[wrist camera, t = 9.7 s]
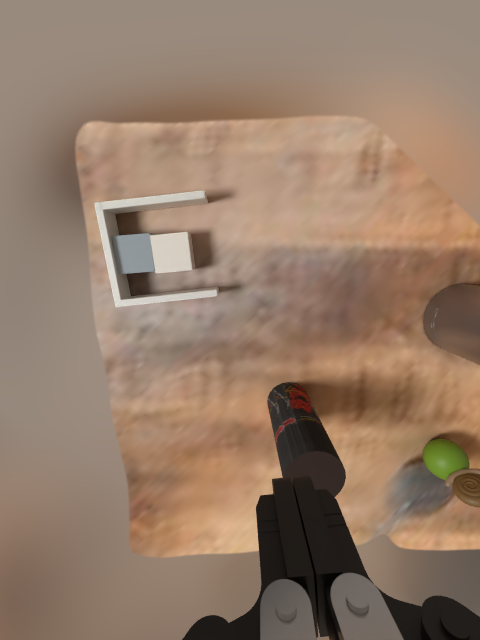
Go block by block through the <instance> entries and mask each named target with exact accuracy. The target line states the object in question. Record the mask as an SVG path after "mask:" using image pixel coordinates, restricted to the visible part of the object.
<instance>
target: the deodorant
mask: <svg viewBox="0 0 480 640" xmlns="http://www.w3.org/2000/svg"><path fill="white" fill-rule="evenodd" d="M268 408H269V413H270V418H271V423H272V428H273V432H274V437H275V442H276V447H277V452H278V457H279V461H280V466H281V471H282V476H283V478H287V477H290V478H291V477H296V476H306V475H310V477H311V479H312V482H313V485H314V488H315V490H320V489H327V490H328V491H329V492H330V493H331V494H332V496H333V497H335V496H336V495H337V494H338V493H339V492H340V491H341V489H342V488H343V486H344V483H345V479H346V475H345V469H344V467H343V464H342V462H341V460H340V458H339V456H338V454H337V452H336V450H335V449H334V447H333V445H332V443H331V441H330V439H329V437H328V435H327V433H326V431H325V429H324V427H323V425H322V423H321V421H320V419H319V417H318V415H317V413H316V411H315V409H314V407H313V405H312V403H311V401H310V399H309V397H308V395H307V393H306V391H305V390H304V389H303V388H302V387H301V386H299V385H298V384H295V383H282V384H280V385H277V386H276V387H275V388H273V390H272V391H271V392H270V394H269V396H268Z"/></svg>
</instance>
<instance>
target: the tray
mask: <svg viewBox="0 0 480 640" xmlns="http://www.w3.org/2000/svg"><path fill="white" fill-rule="evenodd" d="M207 203H208V199H207V195H206V193H205V191H204V190H203V191H194V192H185V193H177V194H168V195H159V196H151V197H142V198H133V199H124V200H116V201H107V202H98V203H94V205H95V210H96V214H97V219H98V224H99V229H100V234H101V239H102V244H103V249H104V253H105V258H106V263H107V268H108V273H109V278H110V283H111V288H112V292H113V297H114V302H115V307H122V306H131V305H140V304H149V303H158V302H167V301H177V300H186V299H195V298H204V297H213V296H218V294H219V287H210V288H201V289H192V290H183V291H174V292H165V293H156V294H147V295H138V296H131V294H130V288H129V283H128V278H127V274H118V270H117V264H116V258H115V252H114V246H113V241H112V236H119V231H118V226H117V221H116V215H115V214H120V213H129V212H137V211H146V210H155V209H164V208H172V207H181V206H190V205H199V204H207Z"/></svg>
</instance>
